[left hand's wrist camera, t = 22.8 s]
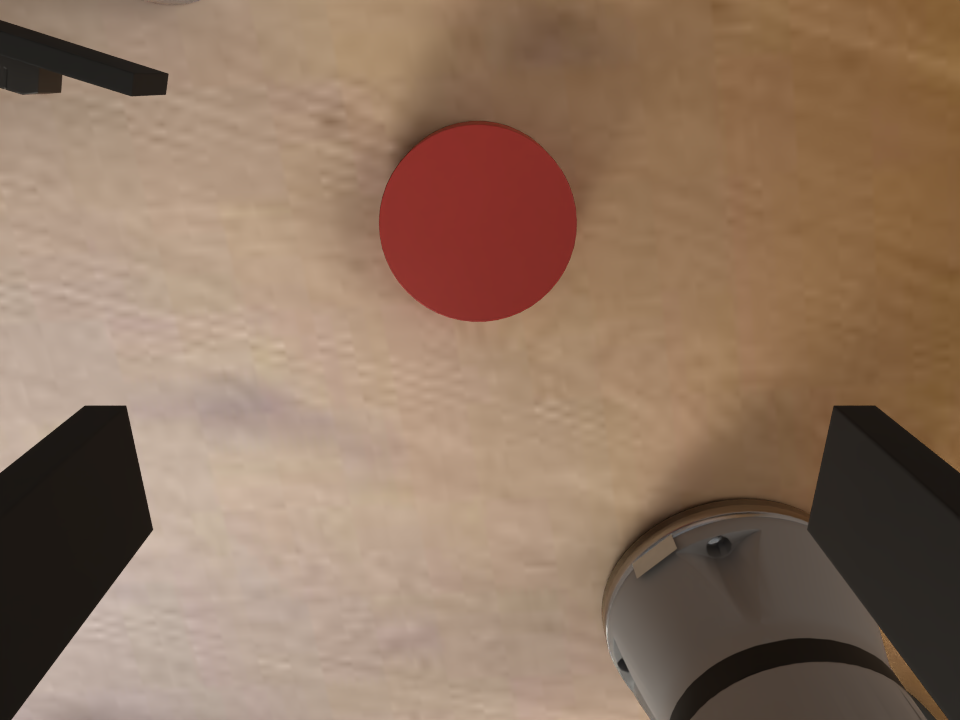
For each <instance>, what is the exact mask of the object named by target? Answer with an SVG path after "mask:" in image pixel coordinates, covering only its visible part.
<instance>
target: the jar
mask: <svg viewBox="0 0 960 720" xmlns="http://www.w3.org/2000/svg"><path fill="white" fill-rule="evenodd" d="M143 1H147V2H152V3H157V4H165V5H179V4H188V3H192V2H195V1H199V0H143Z"/></svg>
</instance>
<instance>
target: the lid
mask: <svg viewBox="0 0 960 720" xmlns="http://www.w3.org/2000/svg"><path fill="white" fill-rule="evenodd" d="M576 228H577V218H576V207H575V203H574V198H573V194H572V192H571V189H570V186H569V183H568V181H567V179H566V178H565V176H564V174H563V172H562V170H561V169H560V167H559V166H558V165H557V163H556V162H555V161H554V159H553V158H552V157H551V156H550V155H549V154H548V153H547V152H546V151H545V150H544V149H543V148H542V147H541V146H540V145H539V144H538V143H537V142H536V141H534V140H533V139H532V138H531V137H529V136H527V135H526V134H524V133H522V132H521V131H519V130H516V129H514V128H511V127H509V126H506V125H502V124H499V123H494V122H486V121H469V122H462V123H457V124H453V125H450V126H447V127H444V128H442V129H440V130H438V131H435V132H433V133H432V134H430V135H429V136H427V137H426V138H424V139H423V140H422V141H420V142H419V143H418V144H417V145H416V146H414V147H413V148H412V149H411V150H410V151H409V153H408V154H407V155H406V156H405V157H404V158H403V159H402V160H401V161H400V163H399V164H398V166H397V167H396V169H395V170H394V172H393V173H392V175H391V177H390V179H389V181H388V183H387V185H386V188H385V191H384V194H383V197H382V202H381V207H380V216H379V230H380V239H381V244H382V249H383V252H384V255H385V258H386V260H387V263H388V265H389V267H390V269H391V271H392V273H393V274H394V276H395V277H396V279H397V280H398V282H399V283H400V284H401V285H402V287H403V288H404V289H405V290H406V291H407V292H408V293H409V294H410V295H411V296H412V297H413V298H414V299H416V300H417V301H418V302H420V303H421V304H422V305H424V306H425V307H427V308H429V309H431V310H432V311H434V312H436V313H438V314H441V315H444V316H446V317H449V318H453V319H457V320H463V321H471V322H486V321H493V320H499V319H503V318H506V317H510V316H512V315H515V314H517V313H520V312H522V311H524V310H525V309H527V308H529V307H531V306H532V305H534V304H535V303H536V302H538V301H539V300H541V299H542V298H543V297H544V296H545V295H546V294H547V293H548V292H549V291H550V290H551V289H552V288H553V286H554V285H555V284H556V283H557V282H558V280H559V279H560V277H561V276H562V274H563V272H564V271H565V269H566V267H567V264H568V262H569V260H570V258H571V254H572V251H573V248H574V244H575V238H576Z"/></svg>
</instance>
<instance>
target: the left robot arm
mask: <svg viewBox="0 0 960 720" xmlns="http://www.w3.org/2000/svg"><path fill="white" fill-rule="evenodd" d="M152 530H153V527H152V523H151V518H150V513H149V509H148V504H147V500H146V495H145V490H144V486H143V481H142V476H141V472H140V467H139V463H138V458H137V453H136V449H135V444H134V439H133V435H132V430H131V426H130V421H129V416H128V412H127V407H126V406H84V407H83V408H81V409H80V410H79V411H78V412H76V413H75V414H74V415H73V416H71V417H70V418H69V419H68V420H66V421H65V422H64V423H62V424H61V425H60V426H59V427H57V428H56V429H55V430H54V431H52V432H51V433H50V434H49V435H47V436H46V437H45V438H44V439H42V440H41V441H40V442H39V443H37V444H36V445H35V446H34V447H32V448H31V449H30V450H29V451H27V452H26V453H25V454H24V455H22V456H21V457H20V458H18V459H17V460H16V461H15V462H13V463H12V464H11V465H10V466H8V467H7V468H6V469H5V470H3V471H2V472H1V473H0V720H11V719H12V718H13V717H14V715H15V714H16V713H17V711H18V710H19V709H20V707H21V706H22V705H23V703H24V702H25V701H26V699H27V698H28V697H29V695H30V694H31V693H32V691H33V690H34V689H35V687H36V686H37V685H38V683H39V682H40V681H41V679H42V678H43V677H44V675H45V674H46V673H47V671H48V670H49V669H50V667H51V666H52V665H53V663H54V662H55V661H56V659H57V658H58V656H59V655H60V654H61V652H62V651H63V650H64V648H65V647H66V646H67V644H68V643H69V642H70V640H71V639H72V638H73V636H74V635H75V634H76V632H77V631H78V630H79V628H80V627H81V626H82V624H83V623H84V622H85V620H86V619H87V618H88V616H89V615H90V614H91V612H92V611H93V610H94V608H95V607H96V606H97V604H98V603H99V602H100V600H101V599H102V598H103V596H104V595H105V593H106V592H107V591H108V589H109V588H110V587H111V585H112V584H113V583H114V581H115V580H116V579H117V577H118V576H119V575H120V573H121V572H122V571H123V569H124V568H125V567H126V565H127V564H128V563H129V561H130V560H131V559H132V557H133V556H134V555H135V553H136V552H137V551H138V549H139V548H140V547H141V545H142V544H143V543H144V541H145V540H146V539H147V537H148V536H149V535H150V533H151V532H152ZM602 621H603V627H604V632H605V636H606V641H607V645H608V649H609V652H610V656H611V658H612V660H613V663H614V665H615V666H616V668H617V670H618V672H619V674H620V675H621V677H622V678H623V680H624V681H625V683H626V684H627V686H628V687H629V688H630V689H631V691H632V692H633V693H634V695H635V697H636V698H637V700H638V702H639V703H640V705H641V706H642V708H643V709H644V711H645V712H646V714H647V715H648V716H649V718H650V719H651V720H936V719H935V718H934V717H933V716H932V714H931V713H930V712H929V711H928V710H927V709H926V708H925V707H924V706H923V705H922V704H921V703H920V702H919V701H918V700H917V699H916V698H915V697H913V696H912V695H911V694H910V693H909V692H907V691H906V690H905V688H904V687H903V685H902V684H901V682H900V681H899V680H898V678H897V677H896V675H895V674H894V672H893V671H892V669H891V668H890V665H889V662H888V659H887V655H886V651H885V648H884V644H883V641H882V637H881V634H880V630H879V627H880V628H881V630H882V631H883V632H884V634H885V635H886V636H887V638H888V639H889V640H890V642H891V643H892V644H893V646H894V647H895V648H896V650H897V651H898V652H899V654H900V655H901V656H902V658H903V659H904V661H905V662H906V663H907V665H908V666H909V667H910V669H911V670H912V671H913V673H914V674H915V675H916V677H917V678H918V679H919V681H920V682H921V683H922V685H923V686H924V687H925V689H926V690H927V691H928V693H929V694H930V695H931V697H932V698H933V699H934V701H935V702H936V703H937V705H938V706H939V707H940V709H941V710H942V711H943V713H944V714H945V715H946V717H947V718H948V720H960V473H959V472H958V471H957V470H955V469H954V468H953V467H952V466H950V465H949V464H948V463H947V462H945V461H944V460H943V459H942V458H940V457H939V456H938V455H936V454H935V453H934V452H933V451H931V450H930V449H929V448H928V447H926V446H925V445H924V444H923V443H921V442H920V441H919V440H918V439H916V438H915V437H914V436H913V435H911V434H910V433H909V432H908V431H906V430H905V429H904V428H903V427H901V426H900V425H899V424H898V423H896V422H895V421H894V420H892V419H891V418H890V417H889V416H887V415H886V414H885V413H884V412H882V411H881V410H880V409H879V408H877V407H876V406H834V407H833V412H832V416H831V421H830V426H829V430H828V435H827V439H826V444H825V449H824V453H823V458H822V463H821V467H820V472H819V476H818V481H817V486H816V490H815V495H814V500H813V504H812V509H811V513H810V514H809V513H807V512H805V511H803V510H800V509H798V508H795V507H793V506H789V505H786V504H782V503H778V502H773V501H767V500H757V499H735V500H725V501H718V502H713V503H708V504H704V505H700V506H697V507H694V508H691V509H688V510H685V511H683V512H681V513H678V514H676V515H674V516H672V517H670V518H668V519H666V520H664V521H662V522H661V523H659V524H658V525H656V526H654V527H653V528H651V529H650V530H649V531H647V532H646V533H645V534H643V535H642V536H641V537H640V538H639V539H638V540H637V541H635V542H634V543H633V544H632V545H631V546H630V548H629V549H628V550H627V551H626V552H625V553H624V554H623V556H622V557H621V558H620V560H619V561H618V563H617V564H616V566H615V567H614V569H613V571H612V573H611V575H610V577H609V579H608V582H607V585H606V587H605V591H604V595H603V601H602ZM878 626H879V627H878Z"/></svg>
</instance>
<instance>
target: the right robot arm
mask: <svg viewBox="0 0 960 720" xmlns="http://www.w3.org/2000/svg"><path fill="white" fill-rule="evenodd" d="M62 75H65V76H68V77H71V78H74V79H78V80H81V81H84V82H87V83H90V84H94V85H97V86H100V87H103V88H106V89H110V90H113V91H116V92H119V93H122V94H126V95H129V96H148V95H166V90H167V81H168V73H164V72H161V71H158V70H155V69H152V68H149V67H146V66H142V65H139V64H136V63H133V62H130V61H127V60H124V59H121V58H117V57H114V56H111V55H108V54H105V53H102V52H99V51H95V50H92V49H89V48H86V47H83V46H80V45H77V44H73V43H70V42H67V41H64V40H61V39H58V38H55V37H52V36H48V35H45V34H42V33H39V32H36V31H33V30H30V29H26V28H23V27H20V26H17V25H14V24H11V23H8V22H4V21H1V20H0V88H2V89H6V90H9V91H12V92H15V93H19V94H22V95H26V94H50V93H61V85H62Z"/></svg>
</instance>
